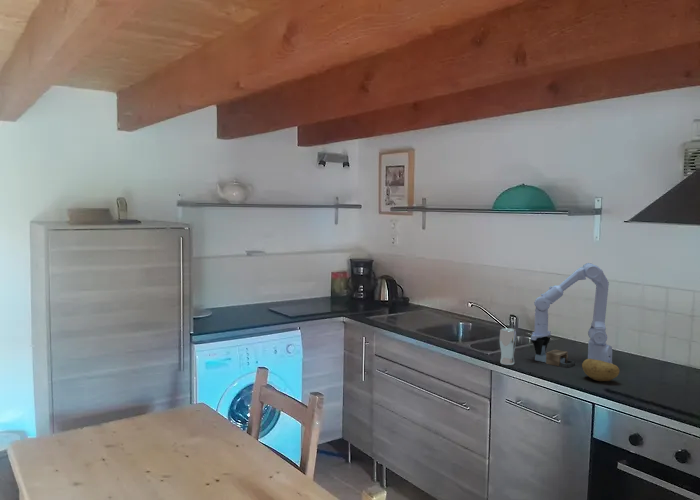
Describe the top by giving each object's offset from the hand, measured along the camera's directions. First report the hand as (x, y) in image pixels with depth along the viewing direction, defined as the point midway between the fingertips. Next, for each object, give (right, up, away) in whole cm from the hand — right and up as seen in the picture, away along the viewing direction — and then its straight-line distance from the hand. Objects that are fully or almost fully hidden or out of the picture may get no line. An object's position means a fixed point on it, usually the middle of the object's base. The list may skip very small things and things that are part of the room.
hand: (540, 353), depth 260 cm
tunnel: (+5, -3, -5) cm, 8 cm away
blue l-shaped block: (+3, -3, -3) cm, 5 cm away
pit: (+9, -4, -9) cm, 13 cm away
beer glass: (-16, -3, -6) cm, 18 cm away
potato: (+14, -5, -31) cm, 34 cm away
